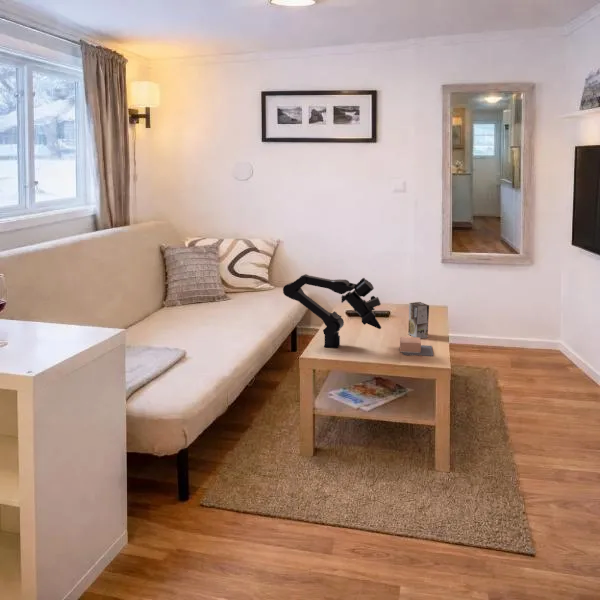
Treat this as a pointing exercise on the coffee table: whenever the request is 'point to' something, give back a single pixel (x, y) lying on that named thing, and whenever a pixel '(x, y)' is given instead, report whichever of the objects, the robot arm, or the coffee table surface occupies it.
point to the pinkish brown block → (410, 344)
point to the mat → (422, 351)
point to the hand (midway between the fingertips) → (380, 328)
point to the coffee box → (418, 319)
